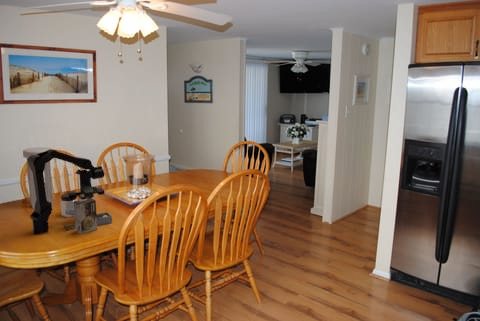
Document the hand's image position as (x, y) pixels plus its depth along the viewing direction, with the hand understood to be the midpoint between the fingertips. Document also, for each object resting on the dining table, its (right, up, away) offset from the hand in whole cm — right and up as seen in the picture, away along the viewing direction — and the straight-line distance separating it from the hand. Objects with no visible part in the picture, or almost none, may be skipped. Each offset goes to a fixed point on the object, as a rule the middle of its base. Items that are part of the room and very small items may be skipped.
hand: (86, 207), depth 215 cm
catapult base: (0, -9, -9) cm, 12 cm away
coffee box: (+6, -10, -14) cm, 18 cm away
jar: (-13, -5, +8) cm, 16 cm away
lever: (-2, -2, -7) cm, 7 cm away
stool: (-38, -1, +26) cm, 46 cm away
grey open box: (+10, -8, -2) cm, 13 cm away
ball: (+11, -6, -2) cm, 13 cm away
